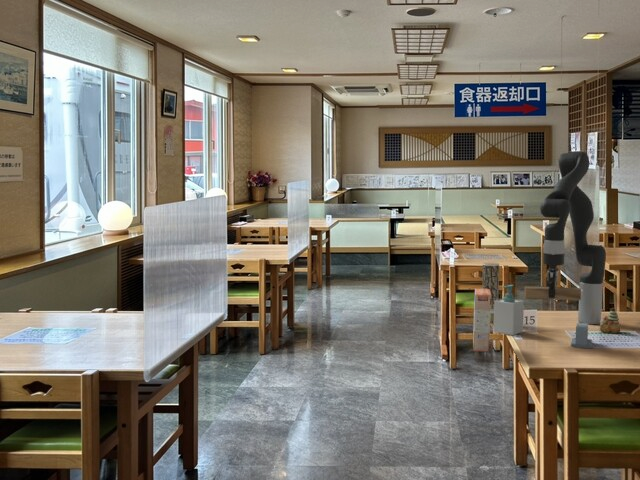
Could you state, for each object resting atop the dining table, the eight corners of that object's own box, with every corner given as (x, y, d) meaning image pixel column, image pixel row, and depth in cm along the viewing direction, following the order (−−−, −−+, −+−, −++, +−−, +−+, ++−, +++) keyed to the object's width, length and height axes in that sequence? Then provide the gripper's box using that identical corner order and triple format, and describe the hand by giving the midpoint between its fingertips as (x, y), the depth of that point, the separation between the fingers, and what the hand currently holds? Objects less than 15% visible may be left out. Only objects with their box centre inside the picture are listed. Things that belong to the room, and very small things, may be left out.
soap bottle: (492, 332, 285) (494, 285, 283) (503, 328, 292) (505, 282, 290) (512, 335, 279) (514, 287, 278) (523, 331, 286) (524, 285, 284)
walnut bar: (524, 296, 274) (524, 286, 273) (578, 298, 270) (579, 287, 270) (525, 298, 270) (525, 288, 270) (580, 300, 266) (580, 289, 266)
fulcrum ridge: (572, 340, 272) (572, 322, 271) (591, 342, 269) (592, 323, 269) (570, 346, 263) (571, 327, 262) (591, 348, 260) (591, 329, 259)
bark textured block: (497, 323, 302) (499, 264, 299) (481, 322, 303) (483, 264, 301) (497, 319, 309) (498, 262, 306) (481, 319, 310) (482, 262, 307)
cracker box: (490, 352, 254) (491, 294, 251) (472, 351, 255) (474, 294, 253) (489, 343, 267) (490, 288, 265) (473, 342, 268) (474, 287, 266)
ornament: (599, 333, 285) (600, 308, 284) (598, 329, 290) (599, 305, 289) (621, 334, 282) (622, 309, 281) (619, 331, 288) (620, 306, 287)
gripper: (545, 249, 276) (543, 292, 278) (541, 253, 263) (540, 299, 265) (565, 250, 273) (564, 294, 275) (562, 254, 260) (561, 300, 262)
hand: (552, 296), depth 270 cm, fingers closed on walnut bar, 4 cm apart
